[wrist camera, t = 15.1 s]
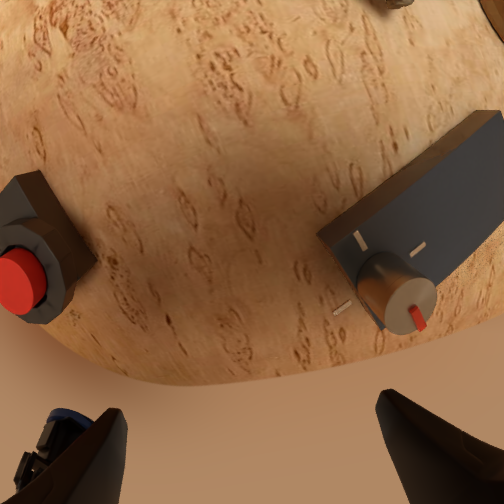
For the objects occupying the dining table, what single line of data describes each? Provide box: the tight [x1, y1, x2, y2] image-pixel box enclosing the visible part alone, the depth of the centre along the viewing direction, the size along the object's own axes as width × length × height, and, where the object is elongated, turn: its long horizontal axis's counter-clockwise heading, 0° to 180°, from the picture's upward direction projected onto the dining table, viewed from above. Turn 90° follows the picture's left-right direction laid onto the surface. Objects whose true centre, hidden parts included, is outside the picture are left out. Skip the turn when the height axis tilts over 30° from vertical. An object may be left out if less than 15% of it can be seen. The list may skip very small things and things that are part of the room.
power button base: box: [0, 170, 97, 324], centre depth 16 cm, size 9×6×5 cm
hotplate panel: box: [316, 110, 504, 330], centre depth 19 cm, size 20×8×3 cm, turn 127°
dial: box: [357, 252, 437, 335], centre depth 16 cm, size 4×4×4 cm
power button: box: [0, 248, 47, 315], centre depth 14 cm, size 4×4×2 cm
